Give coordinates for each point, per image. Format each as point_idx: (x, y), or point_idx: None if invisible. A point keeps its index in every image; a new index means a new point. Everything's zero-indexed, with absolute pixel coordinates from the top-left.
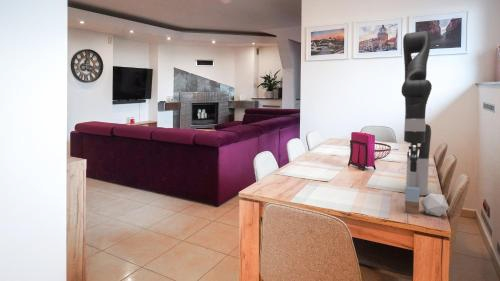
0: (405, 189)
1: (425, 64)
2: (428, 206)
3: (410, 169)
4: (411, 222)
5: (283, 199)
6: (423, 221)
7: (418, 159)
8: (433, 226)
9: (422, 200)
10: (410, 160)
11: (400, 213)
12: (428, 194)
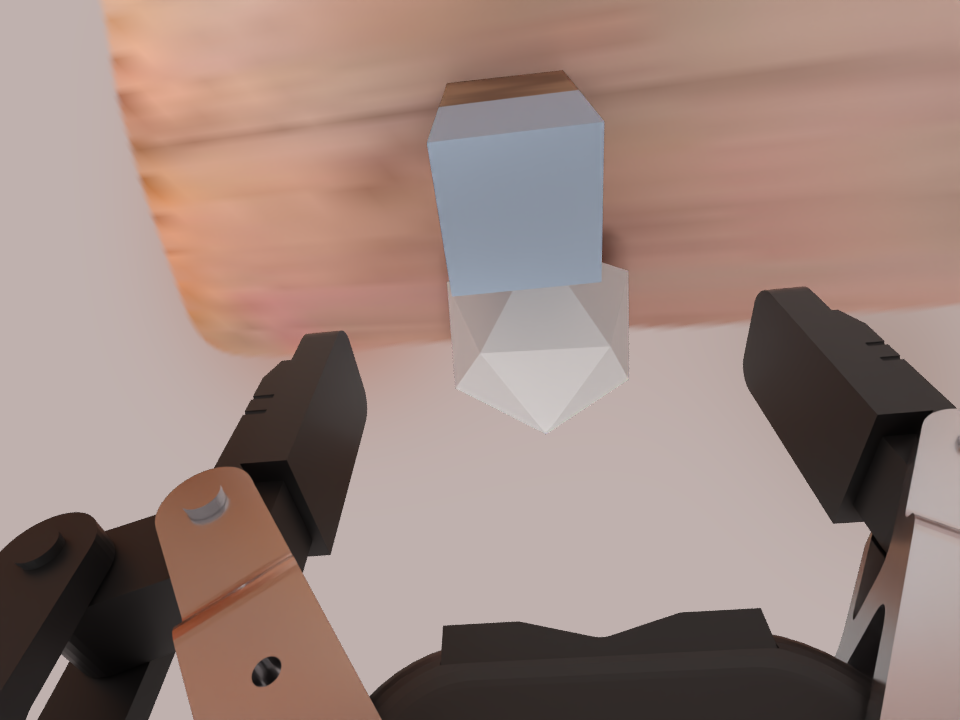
0: (429, 138)
1: None
2: (451, 295)
3: (298, 353)
4: (187, 175)
5: None
6: (286, 244)
7: None
8: (217, 303)
9: None
10: (32, 530)
11: (400, 50)
12: (593, 326)
